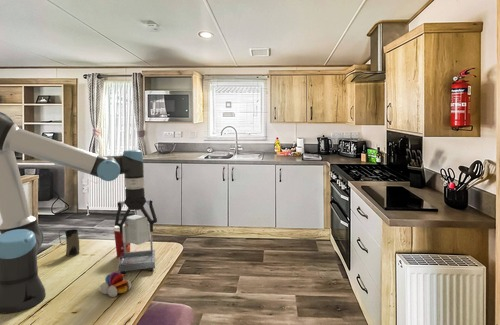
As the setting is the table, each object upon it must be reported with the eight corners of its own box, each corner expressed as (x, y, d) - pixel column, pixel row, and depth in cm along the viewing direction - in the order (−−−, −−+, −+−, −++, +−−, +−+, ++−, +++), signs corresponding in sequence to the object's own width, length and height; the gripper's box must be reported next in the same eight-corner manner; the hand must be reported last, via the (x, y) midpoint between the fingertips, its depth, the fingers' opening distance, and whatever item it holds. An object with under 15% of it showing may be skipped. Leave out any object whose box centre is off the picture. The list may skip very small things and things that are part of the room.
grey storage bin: (118, 275, 135) (117, 249, 134) (122, 261, 148) (121, 238, 147) (154, 271, 139) (154, 246, 137) (155, 258, 152) (154, 235, 151)
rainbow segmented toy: (114, 300, 116) (113, 280, 115) (97, 293, 121) (96, 274, 120) (134, 290, 123) (134, 271, 122) (117, 284, 128) (116, 265, 127)
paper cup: (126, 259, 151) (125, 228, 149) (111, 258, 152) (109, 227, 151) (135, 253, 158) (134, 223, 157) (120, 251, 160) (119, 222, 158)
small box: (149, 241, 142) (148, 216, 141) (138, 245, 138) (137, 220, 137) (136, 238, 147) (135, 214, 146) (125, 241, 142) (124, 217, 141)
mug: (80, 251, 161) (78, 226, 160) (79, 255, 156) (78, 229, 154) (61, 253, 158) (59, 228, 156) (59, 257, 153) (58, 232, 151)
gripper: (104, 190, 133) (107, 245, 136) (162, 187, 139) (164, 240, 142) (107, 187, 141) (110, 239, 143) (162, 184, 146) (164, 235, 149)
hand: (137, 240), depth 142 cm, fingers closed on small box, 9 cm apart
